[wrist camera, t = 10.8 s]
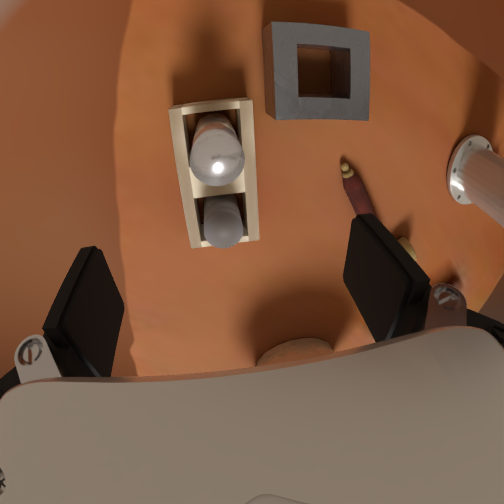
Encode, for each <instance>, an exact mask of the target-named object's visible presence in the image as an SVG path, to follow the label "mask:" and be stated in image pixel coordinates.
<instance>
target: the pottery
mask: <svg viewBox="0 0 504 504" xmlns="http://www.w3.org/2000/svg"><path fill="white" fill-rule="evenodd" d="M330 353H334V351H333V349H332V347H331V346H330V344H329V343H328V342H326V341H323V340H321V339H318V338H301V339H294V340H290V341H287V342H284V343H281V344H278V345H277V346H275V347H273V348H272V349H270V350H268V351H266V352H265V353H264V354H263V356H262V357H261V358H260V359H259V360H258V362H257V365H256V367H257V366H264V365H271V364H277V363H283V362H289V361H294V360H300V359H305V358H311V357H316V356H321V355H326V354H330Z"/></svg>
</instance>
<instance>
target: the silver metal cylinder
mask: <svg viewBox="0 0 504 504" xmlns="http://www.w3.org/2000/svg"><path fill="white" fill-rule="evenodd" d="M244 164H245V155H244V151H243V149H242V147H241V144H240V142H239V140H238V138H237V136H236V133H235V131H234V129H233V127H232V125H231V123H230V121H229V119H228V118H227V117H226V116H224V115H222V114H219V113H210V114H207V115H205V116H203V117H202V118H201V119H200V120H199V122H198V123H197V126H196V131H195V135H194V140H193V145H192V149H191V154H190V167H191V170H192V172H193V174H194V176H195V177H196V178H197V179H198V180H199V181H201V182H202V183H204V184H207V185H210V186H223V185H226V184H229V183H231V182H233V181H234V180H235V179H236V178H237V177H238V176H239V175H240V174H241V172H242V170H243V168H244Z"/></svg>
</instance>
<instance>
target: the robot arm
mask: <svg viewBox="0 0 504 504" xmlns="http://www.w3.org/2000/svg"><path fill="white" fill-rule="evenodd" d="M447 185H448V189H449V192H450V194H451V196H452V197H453V198H454V199H455V200H456V201H457V202H459V203H460V204H470V203H474V204H475V205H477V206H478V207H479V208H481V209H482V210H483V211H484V212H486V213H487V214H488V215H489V216H491V217H492V218H493V219H494V220H496V221H497V222H498V223H499V224H500V225H501V226H503V227H504V157H502V156H500V155H498V154H496V153H494V152H493V149H492V147H491V145H490V143H489V142H488V140H487V139H485V138H484V137H482V136H480V135H476V134H473V135H469V136H467V137H465V138H464V139H463V140H462V141H461V142H460V143H459V144H458V145H457V147H456V148H455V150H454V152H453V154H452V156H451V159H450V162H449V166H448V172H447ZM343 279H344V283H345V285H346V287H347V288H348V290H349V292H350V294H351V296H352V298H353V299H354V301H355V303H356V305H357V307H358V309H359V311H360V313H361V315H362V316H363V318H364V320H365V322H366V324H367V326H368V328H369V330H370V332H371V334H372V336H373V338H374V340H375V342H376V343H373V344H369V345H365V346H361V347H357V348H353V349H348V350H344V351H340V352H335V353H330V354H326V355H321V356H316V357H311V358H305V359H300V360H294V361H289V362H283V363H277V364H271V365H264V366H257V367H250V368H242V369H234V370H226V371H217V372H206V373H195V374H182V375H167V376H144V377H111V372H112V366H113V361H114V355H115V350H116V345H117V340H118V336H119V331H120V326H121V322H122V318H123V314H124V303H123V300H122V298H121V296H120V293H119V291H118V289H117V286H116V284H115V282H114V280H113V277H112V275H111V272H110V270H109V267H108V265H107V262H106V260H105V257H104V255H103V252H102V250H100V249H97V247H96V246H91V247H84V248H81V249H80V251H79V253H78V254H77V257H76V258H75V260H74V262H73V264H72V266H71V267H70V269H69V272H68V273H67V275H66V277H65V279H64V281H63V283H62V285H61V287H60V289H59V291H58V294H57V296H56V298H55V300H54V302H53V304H52V306H51V309H50V311H49V313H48V316H47V318H46V320H45V323H44V325H43V327H42V329H43V330H44V335H43V337H42V336H40V335H32V336H29V337H27V338H26V339H24V340H23V341H22V342H21V343H20V345H19V346H18V347H17V350H16V352H15V357H14V359H15V365H16V366H15V367H14V368H13V369H12V370H11V371H9V372H8V373H7V374H6V375H4V377H2V378H1V379H0V504H504V324H502V323H500V322H499V321H496V320H494V319H491V318H489V317H487V316H484V315H481V314H479V313H477V312H474V311H472V310H470V309H467V303H466V299H465V297H464V295H463V294H462V293H461V292H460V291H459V290H458V289H456V288H455V287H453V286H451V285H448V284H437V285H434V286H433V287H431V286H430V284H429V282H430V278H429V277H428V276H427V275H426V274H425V272H424V271H423V270H422V269H421V267H420V266H419V265H418V264H417V263H416V261H415V260H414V259H413V258H412V257H411V256H410V254H409V253H408V252H407V251H406V250H405V249H404V247H403V246H402V245H401V244H400V243H399V242H398V241H397V240H396V238H395V237H394V236H393V235H392V234H391V233H390V232H389V231H388V230H387V228H386V227H385V226H384V225H383V224H382V223H381V222H380V221H379V220H378V219H377V218H376V217H375V216H374V215H373V214H372V213H367V214H358V215H357V216H356V218H354V219H353V220H352V223H351V230H350V237H349V243H348V249H347V255H346V261H345V267H344V273H343Z"/></svg>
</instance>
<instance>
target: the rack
mask: <svg viewBox="0 0 504 504" xmlns="http://www.w3.org/2000/svg"><path fill="white" fill-rule="evenodd" d="M227 109H236V112H237V126H238V140H239V142H240V144H241V147H242V149H243V151H244V155H245V164H244V168H243V170H242V172H241V174H240V175H239V176H238V177H237V178H236V179H235V180H234V181H233V182H231V183H229V184H226V185H223V186H210V185H207V184H204V183H202V182H201V181H199V180H198V179H197V178H196V177H195V176H194V174H193V172H192V170H191V167H190V154H191V153H190V145H189V137H188V129H187V121H186V114H193V113H200V112H209V111H217V110H227ZM169 118H170V126H171V133H172V140H173V147H174V154H175V160H176V167H177V173H178V179H179V185H180V191H181V196H182V202H183V208H184V213H185V218H186V224H187V229H188V234H189V239H190V244H191V248H198V247H206V246H214V247H217V248H228V247H231V246H234V245H235V244H237V243H238V242H246V241H255V240H259V222H258V201H257V180H256V160H255V141H254V122H253V103H252V100H251V99H249V98H248V97H241V98H229V99H219V100H209V101H201V102H193V103H186V104H180V105H173V106H172V107H171V108H170V109H169ZM234 193H242V196H243V209H244V219H242V220H241V216H240V212H239V208H238V203H237V199H236V196H235V194H234ZM200 197H205V199H204V224H201V221H200V214H199V208H198V202H197V198H200Z"/></svg>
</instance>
